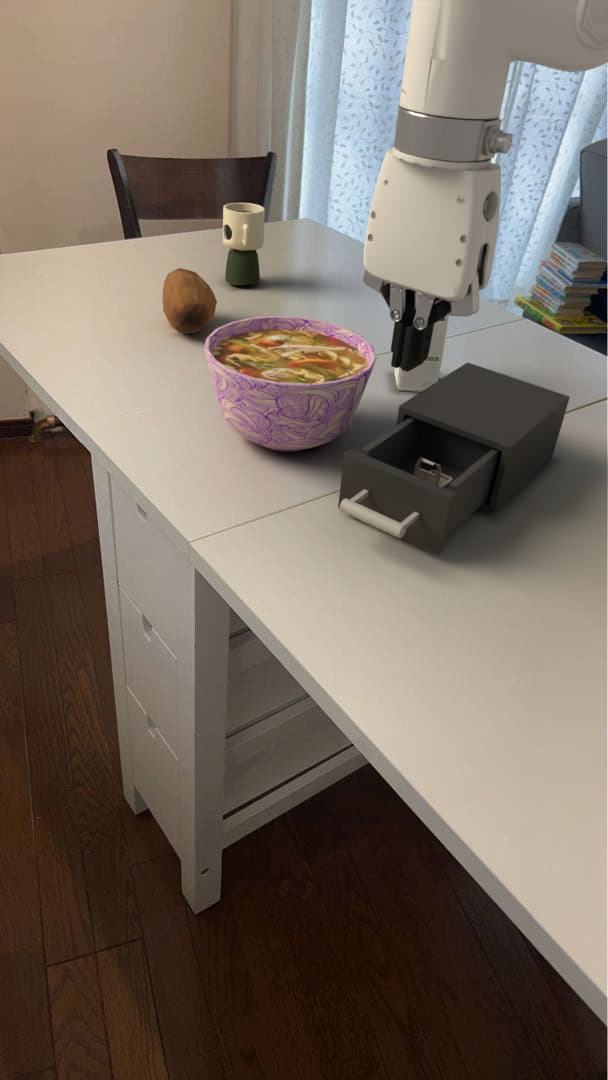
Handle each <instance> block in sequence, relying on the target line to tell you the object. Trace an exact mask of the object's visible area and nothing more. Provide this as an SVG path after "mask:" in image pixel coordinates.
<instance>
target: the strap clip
mask: <svg viewBox="0 0 608 1080" xmlns="http://www.w3.org/2000/svg"><path fill="white" fill-rule="evenodd" d="M421 461H422V462H425V463H427V464H429V465H432V466H434V467H436V468H437V471H436V470H431V471H426V470H423V469H421V468H420V464H421ZM413 475H414V476H417V477H419V478H421V479H424V480H426V481H429V482H431V483H433V484H436V485H438V486H441V487H443V488H445V489H449V485H450V483H452V482H453V478H452V477H450V476H448V475H445V474H443V473H441V466H440V465H439V464H436V463H434V462H431V461H429V460H426V459H424V458H419V459H418V460H417V463H416V465H415V468H414V474H413Z"/></svg>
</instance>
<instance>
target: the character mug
mask: <svg viewBox="0 0 608 1080" xmlns="http://www.w3.org/2000/svg"><path fill="white" fill-rule="evenodd" d="M265 215H266V209H265V207H264V206H262V205H260V204H257V203H251V202H231V203H227V204H224V205H223V208H222V244H223V245H224V246H226V247H227V248H229V251H228V253H227V260H226V264H225V265H226V266H225V274H224V275H225V277H224V279H225V283H227V284H229V285H233V286H242V287H245V286H246V285H254V284H259V283H260V282H261V274H260V273H261V272H260V263H259V255H258V251H257V250H259V249H262V248H263V246H264V243H265V242H264V241H265V217H266V216H265Z"/></svg>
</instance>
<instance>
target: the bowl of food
mask: <svg viewBox="0 0 608 1080" xmlns="http://www.w3.org/2000/svg"><path fill="white" fill-rule="evenodd" d="M204 354H205V358H206V363H207V367H208V369H209V370H208V371H209V375H210V380H211V381H212V382H211V383H212V387H213V390H214V394H215V399H216V402H217V404H218V408H219V412H220V413H221V414H222V417H223V418H224V420H225V421H226V422H227V424H228V425H229V426H230V428H231V429H232V430H233V431H234V432H235V433H237V435H239V436H241V437H242V438H243V439H244V440H248V441H250V442H252V443H254V444H257V445H260V446H262V447H264V448H266V449H269V450H273V451H278V452H290V453H291V452H293V453H294V452H299V451H300V452H301V451H303V450H306V449H312V448H315V447H319V446H322V445H325V444H328V443H330V442H332V441H333V440H334V439H336V438H338V437H339V436H340V435H342V433H343V432H344V431H345V430H347V428H348V427H349V426H350V424H351V422H352V420H353V417H354V416H355V414H356V411H357V410H358V407H359V405H360V403H361V401H362V398H363V396H364V392H365V391H366V387H367V385H368V382H369V379H370V377H371V374H372V371H373V369H374V366H375V364H376V361H377V355H376V351H375V348H374V346H373V345H372V344H371V343H370V342H369V341H368V340H367V339H366V338H365V337H364V336H363V335H360V334H358V333H357V332H354V331H352V330H351V329H348V328H347V327H344V326H341V325H338V324H336V323H335V324H334V323H331V322H328V321H324V320H320V319H313V318H307V317H302V316H284V315H283V316H282V315H281V316H280V315H271V316H270V315H269V316H256V317H249V318H245V319H244V318H243V319H240V320H234V321H231V322H229V323H226V324H224V325H222V326H219V327H218V328H215V329H214V331H212V332H211V333H210V334H209V335H208V336H207V337H205V343H204Z"/></svg>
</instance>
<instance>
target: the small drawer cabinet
mask: <svg viewBox="0 0 608 1080" xmlns="http://www.w3.org/2000/svg"><path fill="white" fill-rule="evenodd" d="M570 398H571V396H569V395H566V394H564V393H561V392H557V391H554V390H551V389H548V388H546V387H542V386H540V385H536V384H534V383H531V382H528V381H524V380H521V379H519V378H516V377H514V376H513V377H512V376H510V375H506V374H503V373H502V372H501V373H500V372H497V371H495V370H492V369H489V368H485V367H483V366H480V365H477V364H474V363H471V362H465V363H463V365H461V366H459V367H458V368H456V369H455V370H452V371H451V372H450V373H448V374H446V375H445V376H443V377H442V378H440V379H438V381H437V382H436V383H434V384H433V385H431V386H429V387H428V388H426V389H425V390H423V391H422V392H417V393H416V394H415V395H413V396H411V398H409V399H407V400H406V401H404V402H403V403H401V404H400V405H399V406H398V412H397V418H396V425H395V427H396V426H397V425H399V424H400V423H402V422H403V421H405V420H406V419H408V418H409V417H413V418H416V419H419V420H421V421H424V422H427V423H429V424H432V425H434V426H437V427H440V428H442V429H445V430H447V431H450V432H453V433H455V434H458V435H461V436H463V437H466V438H468V439H471V440H474V441H476V442H479V443H481V444H484V445H487V446H489V447H492V448H495V449H497V450H500V451H502V455H501V459H500V463H499V467H498V471H497V476H496V480H495V484H494V488H493V492H492V496H491V497H490V498H489V499H488V500H486V501H485V502H484V503H483V504H482V505H481V506H480V507H479V508H478V509H477V510H479V511H483V512H484V513H487V514H490V515H492V516H494V515H496V513H497V512H499V511H500V510H501V509H502V508H503V507H504V505H506V504H507V503H508V502H509V501H510V500H511V499H512V498H513V497H514V496H515V495H516V494H517V493H518V492H519V491H520V490H522V488H524V486H525V485H527V483H529V482H530V481H531V480H532V479H533V478H534V477H535V476H536V475H537V474H538V473H539V472H540V471H541V470H542V469H543V468H544V467H545V466H546V465H547V464H548V463H549V462H551V460H552V459H553V455H554V453H555V449H556V445H557V442H558V439H559V436H560V433H561V428H562V425H563V421H564V420H565V419H564V418H565V415H566V411H567V408H568V405H569V402H570Z"/></svg>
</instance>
